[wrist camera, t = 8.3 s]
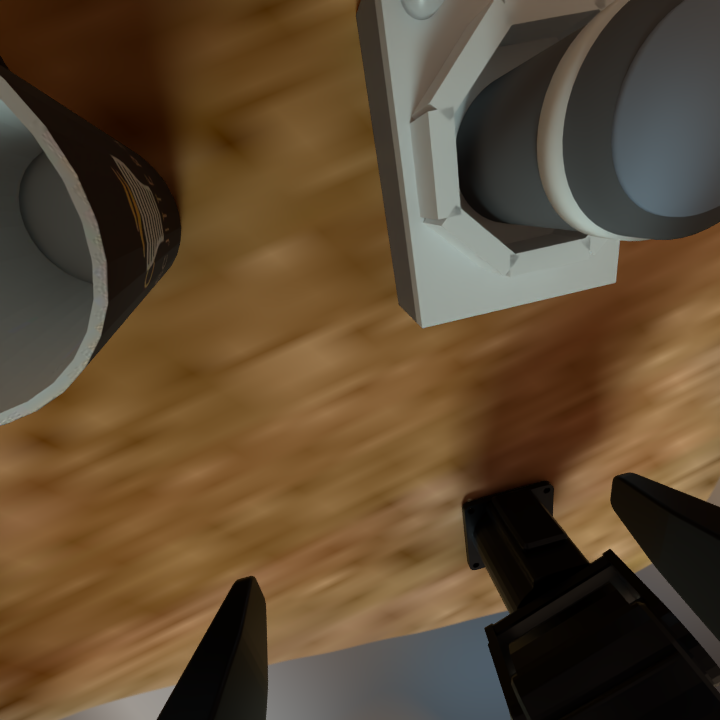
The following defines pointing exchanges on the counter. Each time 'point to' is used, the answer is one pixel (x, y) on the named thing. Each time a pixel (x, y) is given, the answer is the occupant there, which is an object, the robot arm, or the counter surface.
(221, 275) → the counter surface
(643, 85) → the lens
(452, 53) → the octagonal ring tray
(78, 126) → the coffee mug
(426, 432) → the counter surface
